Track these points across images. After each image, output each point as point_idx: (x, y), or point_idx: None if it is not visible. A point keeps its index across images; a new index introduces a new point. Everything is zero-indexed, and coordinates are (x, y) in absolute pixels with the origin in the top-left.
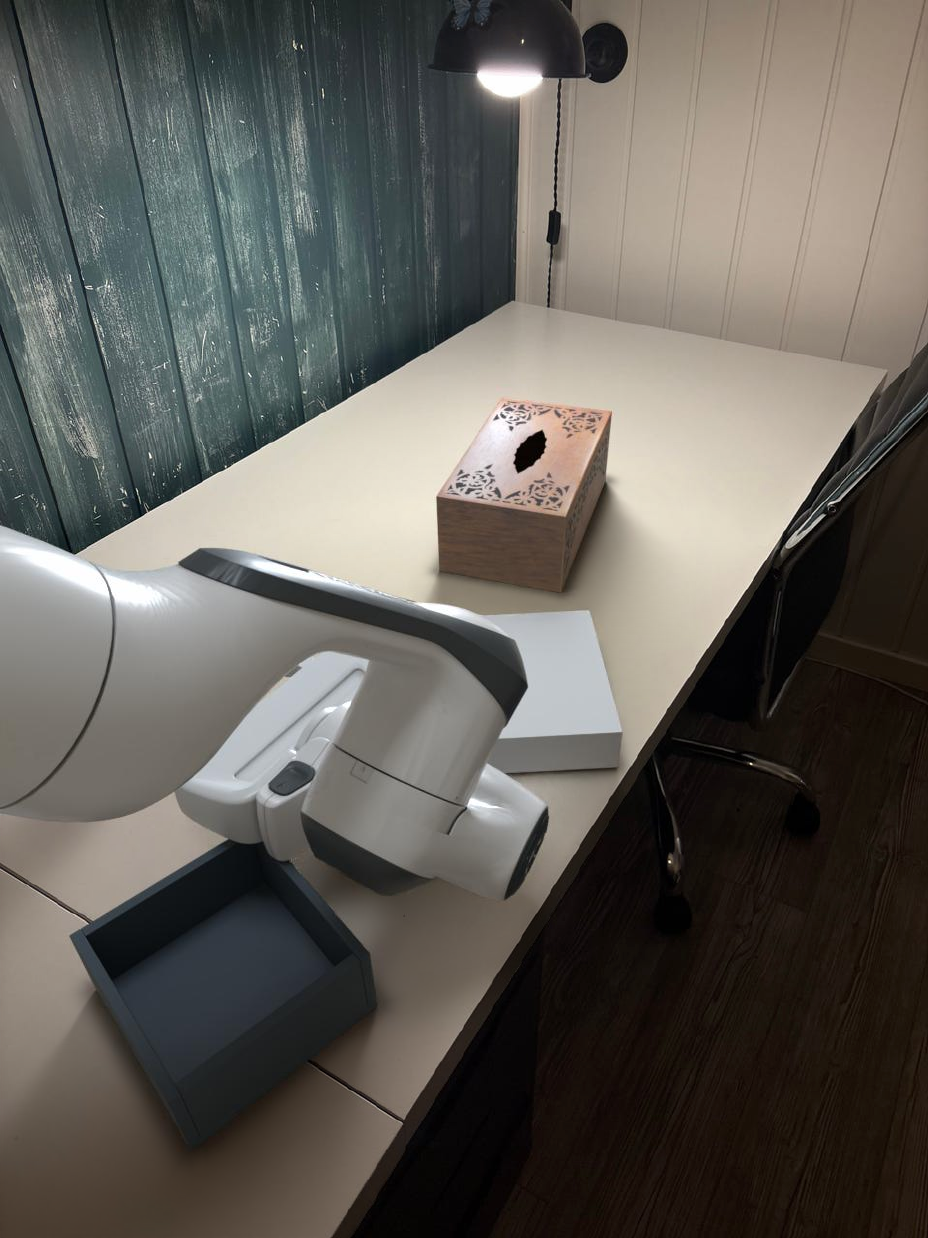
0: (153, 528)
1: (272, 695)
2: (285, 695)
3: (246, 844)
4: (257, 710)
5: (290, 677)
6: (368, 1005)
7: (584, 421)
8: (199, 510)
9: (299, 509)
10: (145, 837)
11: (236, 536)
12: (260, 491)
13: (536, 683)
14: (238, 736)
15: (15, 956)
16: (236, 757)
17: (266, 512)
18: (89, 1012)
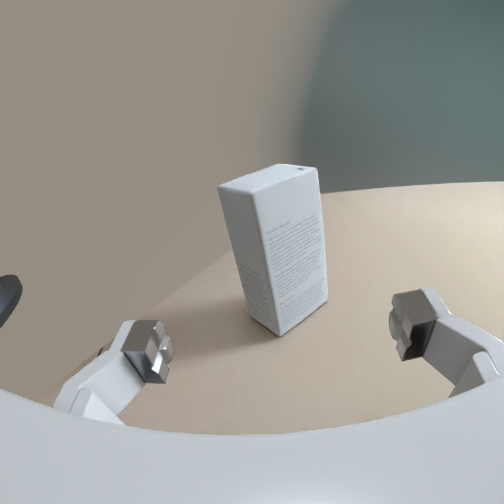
0: (405, 190)
1: (316, 446)
2: (351, 485)
3: None
4: (207, 459)
5: (434, 405)
6: None
7: None
8: (437, 191)
9: (498, 211)
10: (158, 412)
11: (453, 209)
12: (476, 195)
13: None
14: (77, 465)
15: (44, 395)
16: (17, 488)
17: (477, 205)
18: None
